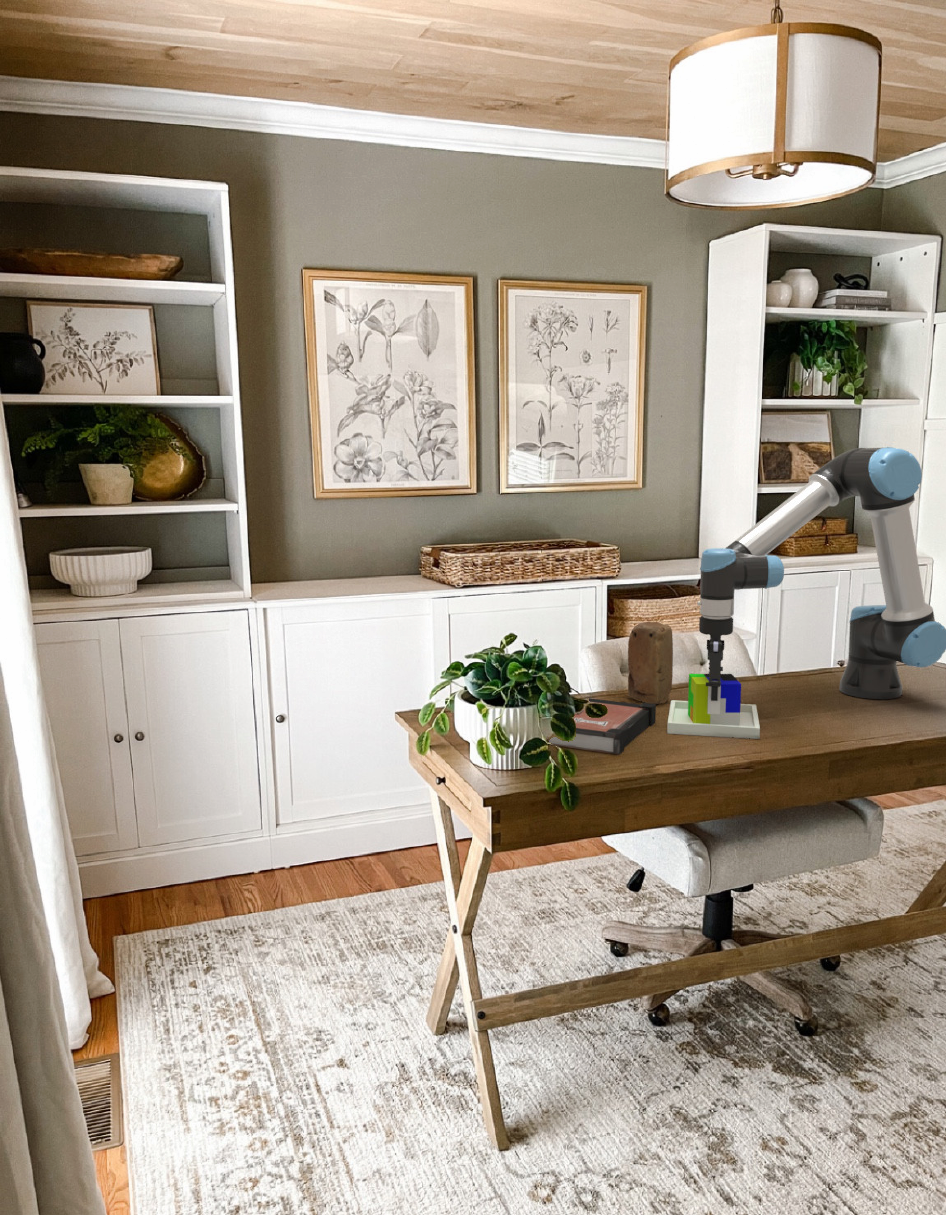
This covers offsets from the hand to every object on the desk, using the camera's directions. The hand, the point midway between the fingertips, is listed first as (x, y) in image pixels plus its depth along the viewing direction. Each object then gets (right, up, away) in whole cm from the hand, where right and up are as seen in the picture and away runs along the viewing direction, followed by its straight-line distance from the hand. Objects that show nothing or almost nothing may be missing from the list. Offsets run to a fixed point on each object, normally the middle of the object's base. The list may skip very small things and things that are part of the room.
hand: (713, 706), depth 221 cm
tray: (0, -4, +1) cm, 4 cm away
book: (-27, -6, -5) cm, 28 cm away
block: (-11, -1, +22) cm, 25 cm away
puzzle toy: (0, -4, +1) cm, 4 cm away
